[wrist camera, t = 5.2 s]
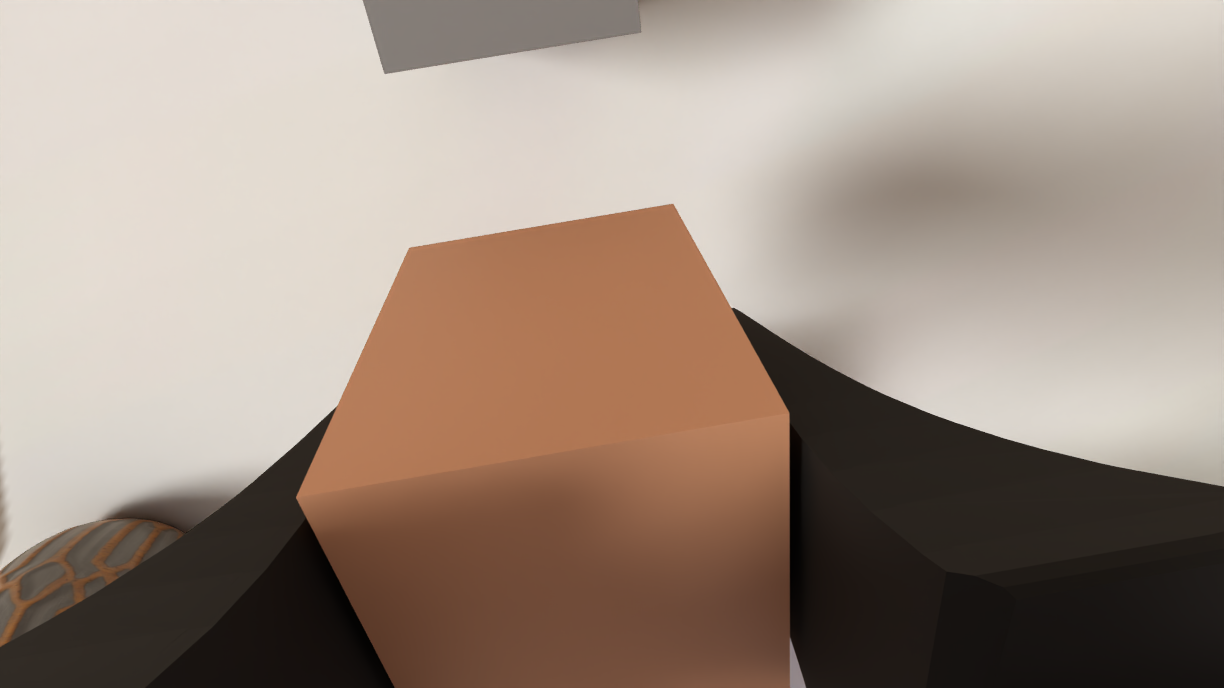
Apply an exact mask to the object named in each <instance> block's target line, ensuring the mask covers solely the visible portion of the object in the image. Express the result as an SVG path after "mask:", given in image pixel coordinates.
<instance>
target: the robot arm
mask: <svg viewBox="0 0 1224 688" xmlns="http://www.w3.org/2000/svg"><path fill="white" fill-rule="evenodd" d="M731 309H732V311H733V312H734V314H735V316H736V318H737V320H738V321H739V323H740V325H741V327H742V329H743V330H744V332H745V334H746V336H747V338H748V339H749V341H750V343H751V345H752V347H753V348H754V350H755V352H756V354H757V356H758V357H759V359H760V361H761V363H762V365H763V366H764V368H765V370H766V372H767V374H768V375H769V377H770V379H771V381H772V383H773V384H774V386H775V388H776V390H777V391H778V393H779V395H780V397H781V399H782V400H783V402H784V404H785V406H786V408H787V409H788V411H789V444H790V688H1224V487H1223V486H1217V485H1212V484H1206V483H1201V482H1196V481H1190V480H1185V479H1179V478H1174V477H1168V476H1163V475H1158V474H1152V473H1147V472H1141V471H1136V470H1130V469H1125V468H1120V467H1115V466H1110V465H1105V464H1101V463H1097V462H1093V461H1088V460H1084V459H1080V458H1076V457H1072V456H1068V455H1064V454H1060V453H1056V452H1051V451H1047V450H1043V449H1040V448H1036V447H1032V446H1029V445H1025V444H1022V443H1018V442H1015V441H1011V440H1007V439H1004V438H1001V437H998V436H995V435H992V434H988V433H985V432H982V431H979V430H976V429H973V428H970V427H967V426H964V425H961V424H958V423H955V422H952V421H949V420H946V419H944V418H941V417H938V416H935V415H933V414H930V413H927V412H925V411H922V410H920V409H918V408H915V407H913V406H910V405H908V404H906V403H903V402H901V401H898V400H896V399H893V398H891V397H889V396H886V395H884V394H882V393H880V392H878V391H875V390H873V389H871V388H869V387H867V386H865V385H863V384H861V383H859V382H857V381H855V380H853V379H851V378H849V377H847V376H846V375H844V374H842V373H840V372H838V371H836V370H834V369H832V368H830V367H829V366H827V365H825V364H823V363H821V362H820V361H818V360H816V359H814V358H813V357H811V356H809V355H808V354H806V353H804V352H803V351H801V350H799V349H798V348H796V347H794V346H793V345H791V344H790V343H788V342H786V341H785V340H783V339H782V338H780V337H779V336H777V335H775V334H774V333H772V332H771V331H769V330H768V329H766V328H765V327H763V326H762V325H760V324H759V323H757V322H756V321H754V320H753V319H751V318H750V317H748V316H746V315H745V314H743V313H742V312H740V311H739V310H737V309H735V308H731ZM336 408H337V407H336ZM336 408H335V409H334V410H333V411H331V412H330V413H329V414H328V415H327V416H326V417H325V418H324V419H323V420H322V421H321V422H320V423H319V424H318V425H317V426H316V427H315V428H313V429H312V430H311V431H310V432H309V433H308V434H307V435H306V436H305V437H304V438H303V439H302V440H301V441H300V442H299V443H297V444H296V445H295V446H294V447H293V448H292V449H291V450H289V451H288V452H287V453H286V454H285V455H284V456H282V457H281V458H280V459H279V460H278V461H277V462H276V463H274V464H273V465H272V466H271V467H270V468H269V469H267V470H266V471H265V472H264V473H263V474H262V475H261V476H259V477H258V478H257V479H256V480H255V481H254V482H253V483H251V484H250V485H249V486H248V487H247V488H245V489H244V490H243V491H242V492H240V493H239V494H238V495H237V496H235V497H234V498H233V499H232V500H230V501H229V502H228V503H226V504H225V505H224V506H223V507H221V508H220V509H219V510H217V511H216V512H215V513H213V514H212V515H211V516H209V517H208V518H206V519H205V520H204V521H202V522H201V523H200V524H198V525H197V526H196V527H194V528H193V529H191V530H190V531H189V532H187V533H186V534H185V535H183V536H182V537H180V538H179V539H177V540H176V541H175V542H173V543H172V544H170V545H169V546H167V547H166V548H164V549H163V550H161V551H160V552H158V553H156V554H155V555H153V556H152V557H150V558H149V559H147V560H146V561H144V562H142V563H141V564H139V565H138V566H136V567H135V568H133V569H132V570H130V571H128V572H127V573H125V574H124V575H122V576H121V577H119V578H118V579H116V580H114V581H113V582H111V583H110V584H108V585H107V586H105V587H104V588H102V589H101V590H99V591H97V592H96V593H94V594H92V595H91V596H89V597H87V598H86V599H84V600H82V601H81V602H79V603H77V604H75V605H74V606H72V607H70V608H69V609H67V610H65V611H63V612H62V613H60V614H58V615H57V616H55V617H53V618H51V619H50V620H48V621H46V622H44V623H43V624H41V625H39V626H37V627H35V628H34V629H32V630H30V631H28V632H26V633H24V634H23V635H21V636H19V637H17V638H15V639H14V640H12V641H10V642H8V643H6V644H4V645H3V646H1V647H0V688H395V687H394V685H393V683H392V682H391V680H390V678H389V676H388V674H387V672H386V670H385V668H384V666H383V664H382V662H381V660H380V658H379V657H378V655H377V653H376V651H375V649H374V647H373V645H372V643H371V641H370V639H369V637H368V635H367V633H366V631H365V630H364V628H363V626H362V624H361V622H360V620H359V618H358V616H357V614H356V612H355V610H354V608H353V606H352V605H351V603H350V601H349V599H348V597H347V595H346V593H345V591H344V589H343V587H342V585H341V583H340V581H339V579H338V578H337V576H336V574H335V572H334V570H333V568H332V566H331V564H330V562H329V560H328V558H327V556H326V554H325V553H324V551H323V549H322V547H321V545H320V543H319V541H318V539H317V537H316V535H315V533H314V531H313V529H312V528H311V526H310V524H309V522H308V520H307V518H306V516H305V514H304V512H303V510H302V508H301V506H300V504H299V502H298V501H297V499H296V496H297V494H298V492H299V490H300V488H301V485H302V483H303V481H304V479H305V477H306V474H307V472H308V470H309V468H310V466H311V463H312V461H313V459H314V457H315V455H316V452H317V450H318V448H319V446H320V443H321V441H322V439H323V437H324V435H325V432H326V430H327V428H328V426H329V424H330V421H331V419H332V417H333V415H334V413H335V410H336Z"/></svg>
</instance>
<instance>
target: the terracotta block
mask: <svg viewBox="0 0 1224 688" xmlns="http://www.w3.org/2000/svg"><path fill="white" fill-rule="evenodd" d="M296 499H297V501H298V502H299V504H300V506H301V508H302V510H303V512H304V514H305V516H306V518H307V520H308V522H309V524H310V526H311V528H312V529H313V531H314V533H315V535H316V537H317V539H318V541H319V543H320V545H321V547H322V549H323V551H324V553H325V554H326V556H327V558H328V560H329V562H330V564H331V566H332V568H333V570H334V572H335V574H336V576H337V578H338V579H339V581H340V583H341V585H342V587H343V589H344V591H345V593H346V595H347V597H348V599H349V601H350V603H351V605H352V606H353V608H354V610H355V612H356V614H357V616H358V618H359V620H360V622H361V624H362V626H363V628H364V630H365V631H366V633H367V635H368V637H369V639H370V641H371V643H372V645H373V647H374V649H375V651H376V653H377V655H378V657H379V658H380V660H381V662H382V664H383V666H384V668H385V670H386V672H387V674H388V676H389V678H390V680H391V682H392V683H393V685H394V687H395V688H790V444H789V411H788V409H787V408H786V406H785V404H784V402H783V400H782V399H781V397H780V395H779V393H778V391H777V390H776V388H775V386H774V384H773V383H772V381H771V379H770V377H769V375H768V374H767V372H766V370H765V368H764V366H763V365H762V363H761V361H760V359H759V357H758V356H757V354H756V352H755V350H754V348H753V347H752V345H751V343H750V341H749V339H748V338H747V336H746V334H745V332H744V330H743V329H742V327H741V325H740V323H739V321H738V320H737V318H736V316H735V314H734V312H733V311H732V309H731V307H730V305H729V303H728V302H727V300H726V298H725V296H724V294H723V293H722V291H721V289H720V287H719V285H718V284H717V282H716V280H715V278H714V276H713V275H712V273H711V271H710V269H709V267H708V266H707V264H706V262H705V260H704V258H703V257H702V255H701V253H700V251H699V249H698V248H697V246H696V244H695V242H694V240H693V239H692V237H691V235H690V233H689V231H688V230H687V228H686V226H685V224H684V222H683V221H682V219H681V217H680V215H679V213H678V212H677V210H676V208H675V206H674V204H669V205H663V206H657V207H651V208H645V209H639V210H633V211H627V212H621V213H615V214H609V215H603V216H597V217H591V218H585V219H579V220H573V221H567V222H561V223H555V224H549V225H543V226H537V227H531V228H525V229H519V230H513V231H507V232H501V233H495V234H489V235H484V236H478V237H472V238H466V239H460V240H454V241H448V242H442V243H436V244H430V245H424V246H418V247H412V248H409V250H408V252H407V254H406V256H405V258H404V261H403V263H402V265H401V267H400V269H399V272H398V274H397V276H396V278H395V280H394V283H393V285H392V287H391V289H390V291H389V294H388V296H387V298H386V300H385V302H384V305H383V307H382V309H381V311H380V313H379V316H378V318H377V320H376V322H375V325H374V327H373V329H372V331H371V333H370V336H369V338H368V340H367V342H366V344H365V347H364V349H363V351H362V353H361V355H360V358H359V360H358V362H357V364H356V366H355V369H354V371H353V373H352V375H351V377H350V380H349V382H348V384H347V386H346V388H345V391H344V393H343V395H342V397H341V399H340V402H339V404H338V406H337V408H336V410H335V413H334V415H333V417H332V419H331V421H330V424H329V426H328V428H327V430H326V432H325V435H324V437H323V439H322V441H321V443H320V446H319V448H318V450H317V452H316V455H315V457H314V459H313V461H312V463H311V466H310V468H309V470H308V472H307V474H306V477H305V479H304V481H303V483H302V485H301V488H300V490H299V492H298V494H297V496H296Z"/></svg>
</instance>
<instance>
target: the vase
mask: <svg viewBox="0 0 1224 688" xmlns="http://www.w3.org/2000/svg"><path fill="white" fill-rule="evenodd" d="M183 535H185V533H183V532H182V531H180V530H178V529H176V528H174V527H172V526H169V525H167V524H163V523H160V522H156V521H152V520H146V519H130V518H129V519H111V520H102V521H96V522H91V523H87V524H84V525H80V526H76V527H73V528H70V529H67V530H64V531H62V532H60V533H58V534H56V535H54V536H52V537H50V538H47V539H45V540H44V541H42V542H40V543H38V544H37V545H35V546H34V547H32V548H30V549H29V550H27V551H25V552H24V553H23V554H21V555H20V556H18V557H17V558H16V559H14V560H13V561H12V562H10V563H9V564H8V565H6V566H5V567H4V568H3V569H2V570H0V647H1V646H3V645H4V644H6V643H8V642H10V641H12V640H14V639H15V638H17V637H19V636H21V635H23V634H24V633H26V632H28V631H30V630H32V629H34V628H35V627H37V626H39V625H41V624H43V623H44V622H46V621H48V620H50V619H51V618H53V617H55V616H57V615H58V614H60V613H62V612H63V611H65V610H67V609H69V608H70V607H72V606H74V605H75V604H77V603H79V602H81V601H82V600H84V599H86V598H87V597H89V596H91V595H92V594H94V593H96V592H97V591H99V590H101V589H102V588H104V587H105V586H107V585H108V584H110V583H111V582H113V581H114V580H116V579H118V578H119V577H121V576H122V575H124V574H125V573H127V572H128V571H130V570H132V569H133V568H135V567H136V566H138V565H139V564H141V563H142V562H144V561H146V560H147V559H149V558H150V557H152V556H153V555H155V554H156V553H158V552H160V551H161V550H163V549H164V548H166V547H167V546H169V545H170V544H172V543H173V542H175V541H176V540H177V539H179V538H180V537H182V536H183Z"/></svg>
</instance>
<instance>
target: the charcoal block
mask: <svg viewBox="0 0 1224 688" xmlns="http://www.w3.org/2000/svg"><path fill="white" fill-rule="evenodd" d="M363 2H364V6H365V9H366V13H367V16H368V19H369V23H370V26H371V30H372V33H373V36H374V40H375V43H376V47H377V50H378V53H379V57H380V60H381V64H382V67H383V70H384V74H388V73H394V72H400V71H406V70H412V69H418V68H425V67H431V66H437V65H443V64H449V63H455V62H462V61H468V60H474V59H480V58H486V57H493V56H499V55H505V54H511V53H517V52H523V51H530V50H536V49H542V48H548V47H554V46H560V45H567V44H573V43H579V42H585V41H591V40H597V39H604V38H610V37H616V36H622V35H628V34H634V33H641V24H640V14H639V5H638V0H363Z"/></svg>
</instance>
